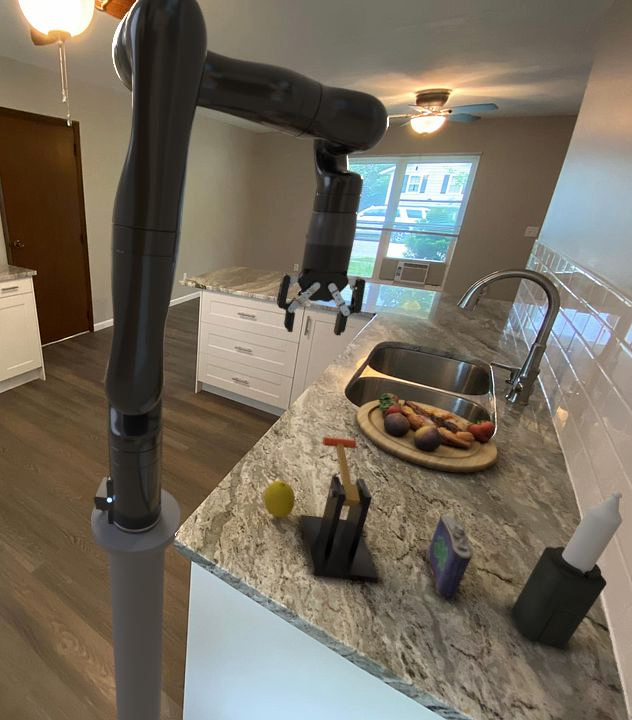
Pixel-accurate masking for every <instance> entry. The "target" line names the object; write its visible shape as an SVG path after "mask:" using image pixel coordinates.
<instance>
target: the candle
mask: <svg viewBox="0 0 632 720" xmlns="http://www.w3.org/2000/svg"><path fill="white" fill-rule="evenodd" d="M622 498H623V495H622V493H621V492H619V491H612V492H611V496H609V497H608V498H606V499H605V500H603V501H601V502H599V503H595V504H592V505H590V506H588V509H587V510H586V511H585V513H584V515H583V517H582V518H581V520H580V522H579V524H578V525H577V527H576V529H575V530H574V532H573V534H572V536H571V538H570V539H569V542H568V543H567V545H566V546H565V547H564V546H557V547H552V546H547V547H545V548H544V549H543V551H542V553H541V555H540V556H539V559H538V560H537V562H536V564H535V566H534V568H533V570H532V571H531V573H530V575H529V576H528V579H527V580H526V581H525V584H524V586H523V588H522V590H521V591H520V593H519V594H518V597H517V598H516V600H515V602H514V604H513V605H512V608H511V614H512V615H513V618H514V620H515V622H516V624H517V626H518V628H519V630H520V632H521V633H522V634H523V636H524V637H525V638H527V639H529V640H530V641H533V642H539V643H543V644H545V645H546V644H547V645H549V646H553V647H555V648H557V649H565V647H566V646H567V645H568V643H569V642H570V640H571V638H572V637H573V635H574V634H575V632H576V631H577V629H578V628H579V626H580V625H581V623H582V622H583V620H584V619H585V617H586V616H587V615H588V613H589V611H590V610H591V609H592V608H593V605H594V604H595V602H596V601H597V600H598V598H599V597H600V595H601V593H602V592H603V590H604V589H605V587H606V586H607V580H606V579H605V577H604V576H603V575H602V570H601V567H599V565H598V564H597V562H598V561H599V559H600V558H601V556H602V554H603V553H604V551H605V550H606V549H607V546H608V545H609V544H610V542H611V540H612V539H613V537H614V535H616V532H617V531H618V529H619V528H620V526H621V525H622V522H623V518H622V516H621V513H620V499H622Z"/></svg>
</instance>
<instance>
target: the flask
mask: <svg viewBox="0 0 632 720" xmlns="http://www.w3.org/2000/svg"><path fill="white" fill-rule="evenodd" d="M469 531H470V529H469V528H468V527H467V525H466V526H462V525H460V524H459V523H458V522H457V521H456V519H455V518H454V517H452V516H450V515H447V514H442V515H439V518H438V522H437V525H436V526H435V529H434V533H433V535H432V538H431V540H430V543H429V545H428V547H427V549H426V551H425V557H426V561H427V562H428V565H429V571H430V573H431V574H432V576H433V577H434V578H433V581H434V582H435V587H436V592H437V593H438V595H439V596H440V597H442V599H443V600H447V601H454V600H455V598H456V597H457V592H458V589H459V587H460V585H461V582H462V580H463V577H464V574H465V573H466V570H467V569H468V565H469V564H470V561H471V559H472V553H471V547H470V544H469V541H468V538H467V536H466V533H465V532H467V533H468V532H469Z"/></svg>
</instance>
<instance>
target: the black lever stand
mask: <svg viewBox="0 0 632 720" xmlns="http://www.w3.org/2000/svg"><path fill="white" fill-rule="evenodd" d="M365 482H366V481H365V480H364V479H363V478H356V481H355V485H357V489H358V494H359V498H360V502H359V503H358V504H357V506H356V507H350V506H348V511H347V515H346V519H344V518H341V513H342V510H343V507H344V506H343V503H344V499H345V493H344V490H343V488H342V482H341V480H340V477H339V476H333V475H332V476H331V481H330V484H329V489H328V493H327V497H326V502H325V506H324V511H323V515H322V516H316V515H307V514H300V515H301V516H300V525H301V528H302V532H303V536H304V541H305V545H306V549H307V554H308V558H309V559H308V560H309V562H310V567H311V571H312V575H313V576H318V577H325V578H333V579H342V580H349V581H358V582H364V583H373V584H378V581H379V575H378V573H377V571H376V568H375V565H374V563H373V561H372V558H371V556H370V553H369V550H368V548H367V546H366V542H365V540H364V538H363V535H362V534H363V531H364V527H365V523H366V519H367V516H368V513H369V509H370V507H371V503H372V498H373V497H372V495H371V492H370V490H369V489H368V486H367V485H366V483H365Z"/></svg>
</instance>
